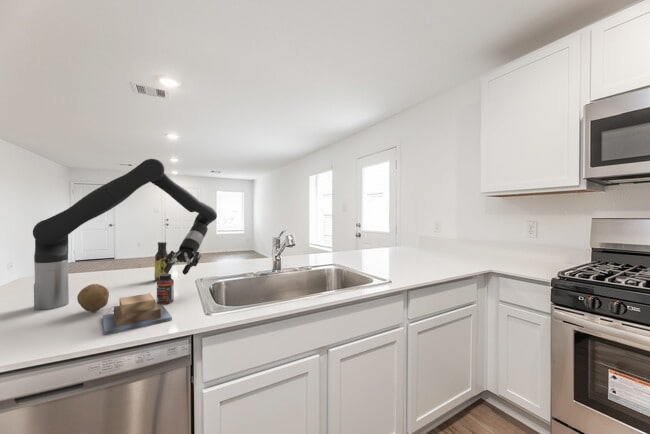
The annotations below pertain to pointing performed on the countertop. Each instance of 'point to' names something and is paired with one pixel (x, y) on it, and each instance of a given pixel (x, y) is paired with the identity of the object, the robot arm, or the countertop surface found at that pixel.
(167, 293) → the supplement bottle
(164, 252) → the sauce bottle
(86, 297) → the natural sponge
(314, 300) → the countertop surface
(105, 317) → the block tower
